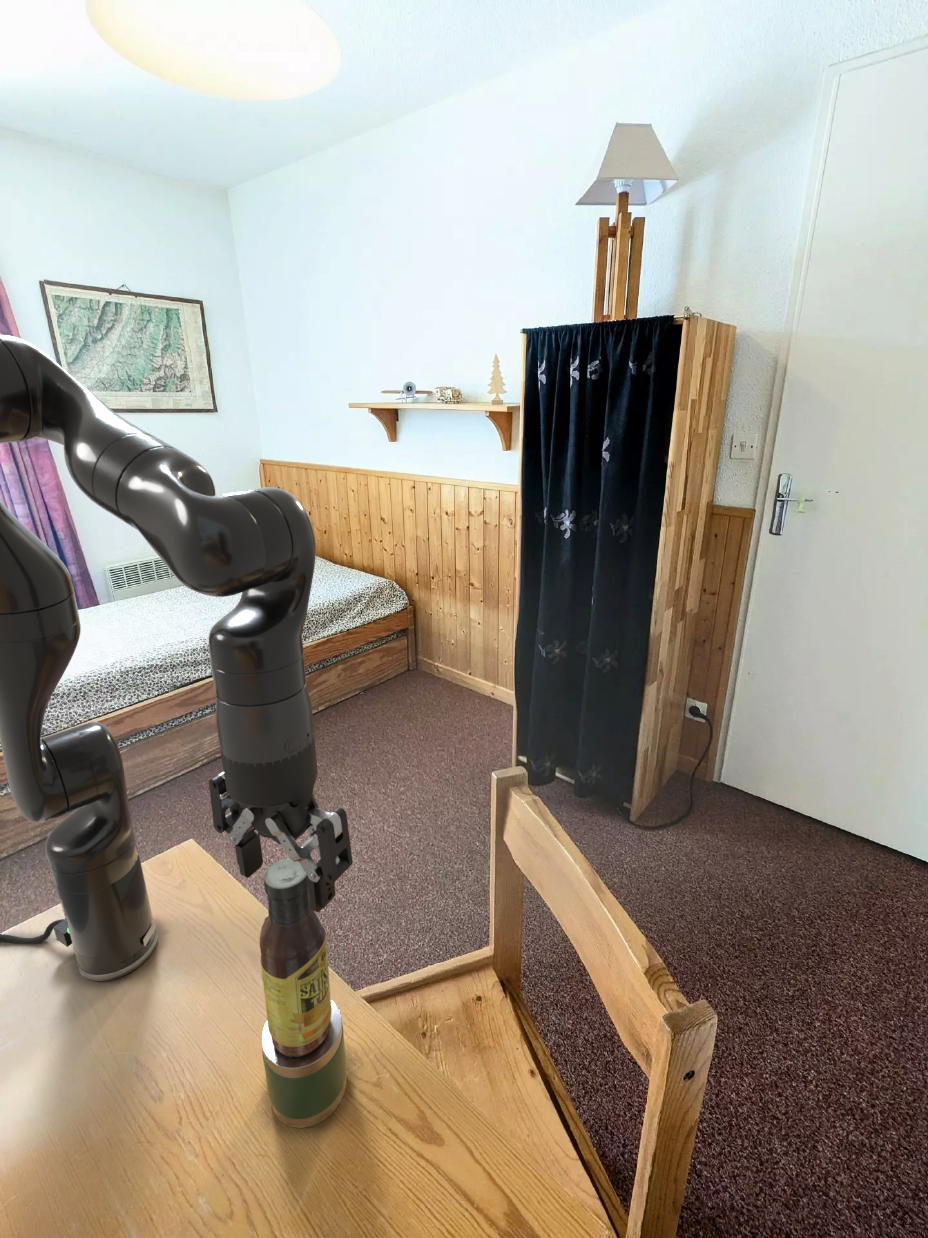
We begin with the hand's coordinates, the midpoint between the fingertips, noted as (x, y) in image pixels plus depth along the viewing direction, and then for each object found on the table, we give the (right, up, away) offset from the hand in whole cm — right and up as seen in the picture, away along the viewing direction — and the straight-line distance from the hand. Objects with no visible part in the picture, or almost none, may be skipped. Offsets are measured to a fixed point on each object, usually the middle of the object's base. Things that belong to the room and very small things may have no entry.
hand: (285, 887), depth 56 cm
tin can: (0, -26, +10) cm, 28 cm away
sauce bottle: (0, -18, +7) cm, 19 cm away
